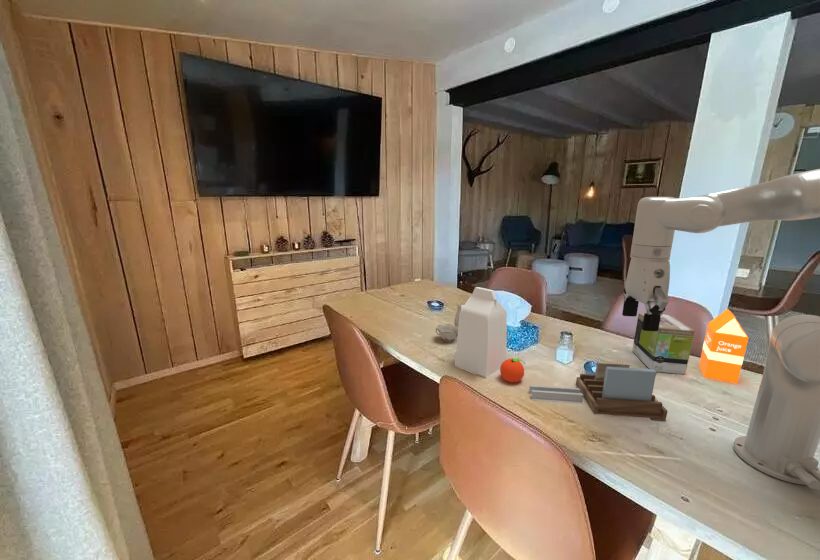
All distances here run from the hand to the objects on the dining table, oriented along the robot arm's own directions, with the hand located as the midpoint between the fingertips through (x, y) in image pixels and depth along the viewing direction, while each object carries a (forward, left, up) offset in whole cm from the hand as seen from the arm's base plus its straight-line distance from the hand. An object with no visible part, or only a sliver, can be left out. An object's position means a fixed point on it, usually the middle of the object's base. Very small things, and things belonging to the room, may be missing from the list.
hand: (638, 322), depth 83 cm
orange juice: (+24, -37, -24) cm, 50 cm away
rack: (+4, 0, -24) cm, 24 cm away
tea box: (+30, -23, -24) cm, 45 cm away
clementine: (+12, +26, -24) cm, 38 cm away
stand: (+4, +16, -24) cm, 29 cm away
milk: (+20, +35, -24) cm, 47 cm away
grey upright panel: (0, 0, -23) cm, 23 cm away
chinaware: (+41, +37, -25) cm, 60 cm away
